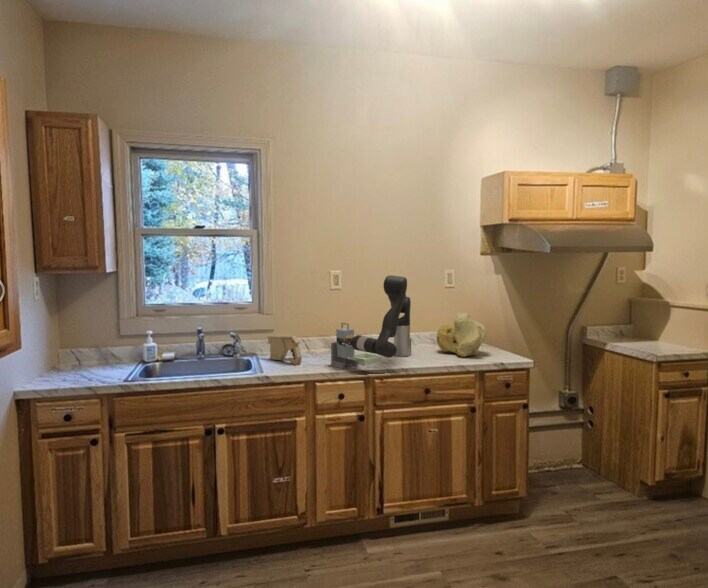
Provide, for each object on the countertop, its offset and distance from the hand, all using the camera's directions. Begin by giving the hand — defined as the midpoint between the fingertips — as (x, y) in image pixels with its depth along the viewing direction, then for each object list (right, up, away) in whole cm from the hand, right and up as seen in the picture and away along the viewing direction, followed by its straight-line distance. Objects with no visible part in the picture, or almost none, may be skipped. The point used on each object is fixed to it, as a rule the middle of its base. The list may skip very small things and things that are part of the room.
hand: (342, 339), depth 259 cm
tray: (+12, -13, +10) cm, 20 cm away
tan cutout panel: (-31, -13, +11) cm, 36 cm away
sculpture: (+67, -11, +29) cm, 74 cm away
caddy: (+2, -9, -1) cm, 9 cm away
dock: (+2, -14, -1) cm, 14 cm away
